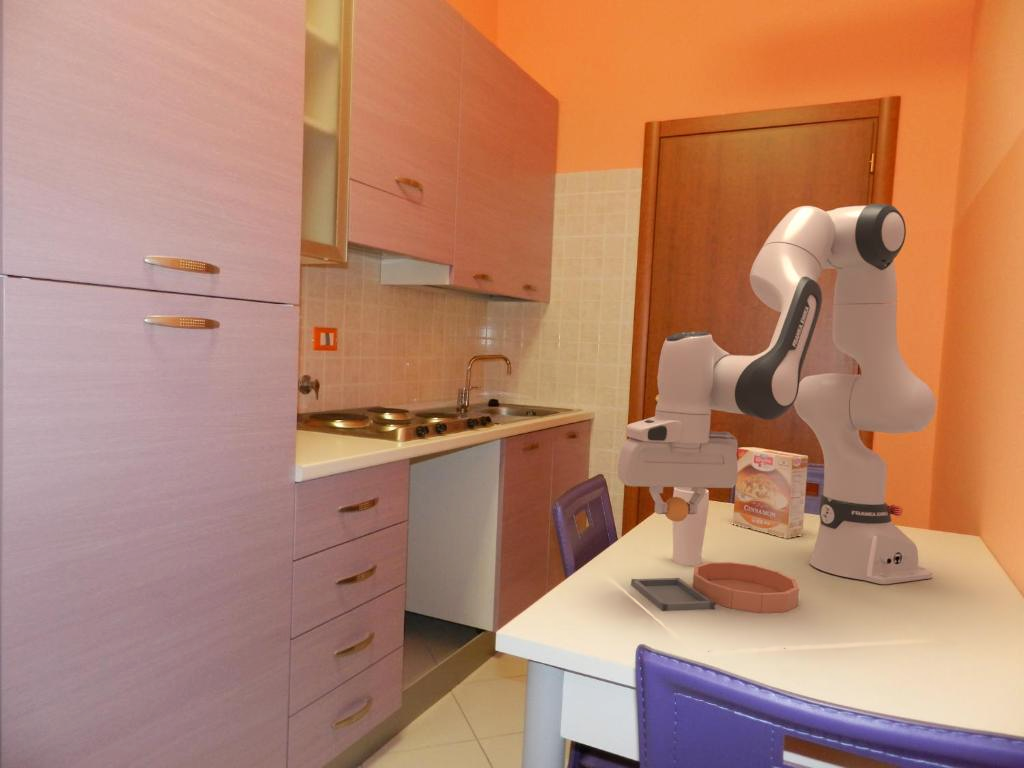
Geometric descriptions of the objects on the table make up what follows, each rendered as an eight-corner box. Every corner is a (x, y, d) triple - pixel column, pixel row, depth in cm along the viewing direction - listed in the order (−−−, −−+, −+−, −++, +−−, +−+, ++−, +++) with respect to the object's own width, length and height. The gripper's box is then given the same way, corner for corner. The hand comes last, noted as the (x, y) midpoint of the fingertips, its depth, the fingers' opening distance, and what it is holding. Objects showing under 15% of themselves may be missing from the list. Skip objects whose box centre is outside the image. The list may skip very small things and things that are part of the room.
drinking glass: (705, 572, 129) (710, 493, 128) (669, 567, 130) (674, 490, 129) (702, 561, 135) (707, 487, 135) (668, 558, 137) (672, 484, 136)
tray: (678, 586, 119) (678, 577, 119) (714, 612, 107) (714, 602, 107) (630, 588, 117) (631, 579, 117) (662, 614, 105) (662, 604, 105)
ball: (680, 518, 114) (682, 494, 114) (692, 524, 110) (694, 499, 110) (658, 518, 113) (660, 494, 113) (669, 524, 109) (671, 499, 109)
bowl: (757, 579, 126) (758, 561, 125) (818, 614, 109) (820, 592, 109) (675, 582, 122) (676, 562, 121) (726, 618, 105) (727, 595, 105)
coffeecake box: (731, 525, 169) (736, 447, 168) (748, 522, 173) (753, 446, 173) (786, 539, 157) (792, 456, 156) (803, 536, 161) (809, 455, 161)
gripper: (727, 430, 117) (721, 509, 117) (616, 425, 112) (611, 508, 112) (748, 434, 111) (742, 518, 111) (632, 429, 106) (626, 517, 106)
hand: (675, 513), depth 112 cm, fingers closed on ball, 4 cm apart
